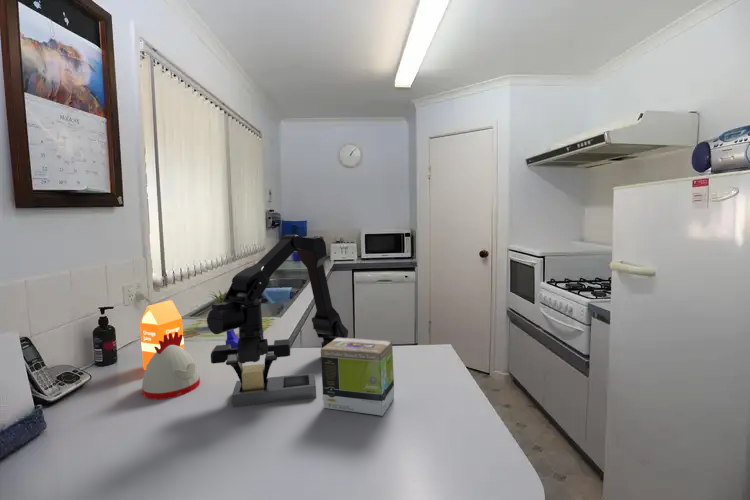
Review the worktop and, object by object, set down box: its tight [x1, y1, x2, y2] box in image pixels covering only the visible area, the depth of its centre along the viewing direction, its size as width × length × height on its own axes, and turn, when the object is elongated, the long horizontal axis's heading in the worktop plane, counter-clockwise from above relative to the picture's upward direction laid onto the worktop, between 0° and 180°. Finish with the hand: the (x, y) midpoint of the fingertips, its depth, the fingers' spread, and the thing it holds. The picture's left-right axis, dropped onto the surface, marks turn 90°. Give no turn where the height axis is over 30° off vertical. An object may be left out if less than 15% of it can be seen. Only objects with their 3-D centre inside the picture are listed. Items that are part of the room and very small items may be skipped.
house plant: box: [207, 289, 228, 306], centre depth 170 cm, size 14×14×16 cm
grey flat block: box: [231, 372, 317, 408], centre depth 103 cm, size 20×8×3 cm, turn 101°
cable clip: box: [225, 329, 265, 348], centre depth 143 cm, size 12×4×6 cm, turn 91°
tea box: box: [320, 337, 395, 417], centre depth 97 cm, size 15×10×15 cm, turn 71°
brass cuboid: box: [242, 363, 265, 392], centre depth 102 cm, size 5×5×5 cm
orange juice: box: [139, 299, 185, 371], centre depth 125 cm, size 8×9×20 cm
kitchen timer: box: [141, 332, 201, 400], centre depth 109 cm, size 14×14×15 cm
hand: (254, 383), depth 102 cm, fingers closed on brass cuboid, 5 cm apart
